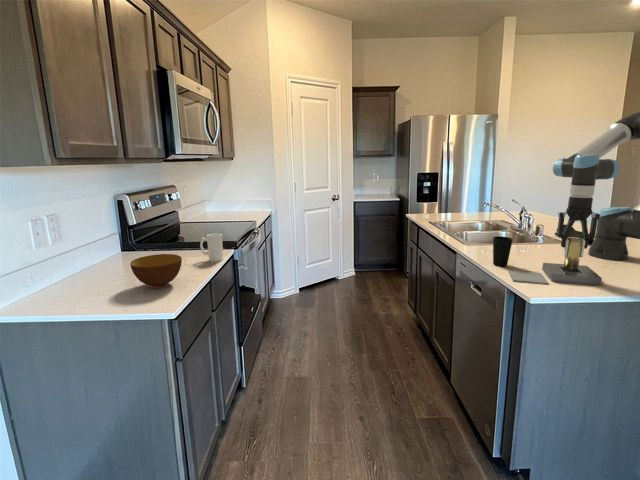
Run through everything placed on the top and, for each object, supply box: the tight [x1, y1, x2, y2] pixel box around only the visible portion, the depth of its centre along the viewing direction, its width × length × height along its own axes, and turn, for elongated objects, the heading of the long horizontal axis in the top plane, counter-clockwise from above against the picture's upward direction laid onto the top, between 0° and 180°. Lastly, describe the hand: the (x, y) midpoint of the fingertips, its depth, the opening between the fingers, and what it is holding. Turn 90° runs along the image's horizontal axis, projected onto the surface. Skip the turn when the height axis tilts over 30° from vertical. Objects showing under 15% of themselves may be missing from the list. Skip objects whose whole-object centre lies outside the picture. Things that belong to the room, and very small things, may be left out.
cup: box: [492, 235, 514, 268], centre depth 168 cm, size 8×8×12 cm
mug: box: [199, 232, 224, 263], centre depth 178 cm, size 10×7×12 cm, turn 98°
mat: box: [508, 270, 549, 285], centre depth 152 cm, size 12×12×1 cm
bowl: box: [129, 253, 183, 289], centre depth 145 cm, size 18×18×10 cm
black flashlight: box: [554, 223, 594, 244], centre depth 212 cm, size 7×25×8 cm, turn 10°
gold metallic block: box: [563, 237, 582, 269], centre depth 151 cm, size 5×5×12 cm
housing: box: [541, 262, 603, 286], centre depth 152 cm, size 16×16×3 cm
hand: (572, 255), depth 151 cm, fingers closed on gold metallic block, 5 cm apart
